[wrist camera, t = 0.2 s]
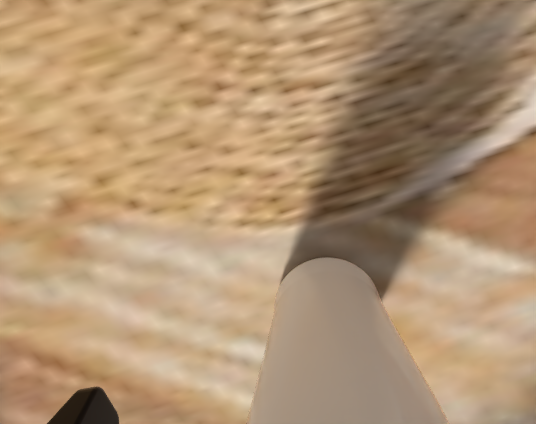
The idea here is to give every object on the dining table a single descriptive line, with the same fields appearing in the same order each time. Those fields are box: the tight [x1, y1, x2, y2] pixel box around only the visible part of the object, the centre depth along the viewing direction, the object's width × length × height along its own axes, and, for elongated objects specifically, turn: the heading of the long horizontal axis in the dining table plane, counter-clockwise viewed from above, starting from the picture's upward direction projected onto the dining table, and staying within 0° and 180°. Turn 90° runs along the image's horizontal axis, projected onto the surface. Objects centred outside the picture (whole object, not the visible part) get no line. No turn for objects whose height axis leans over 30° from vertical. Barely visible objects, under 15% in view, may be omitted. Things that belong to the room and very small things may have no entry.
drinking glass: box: [246, 257, 450, 424], centre depth 18 cm, size 7×7×15 cm
